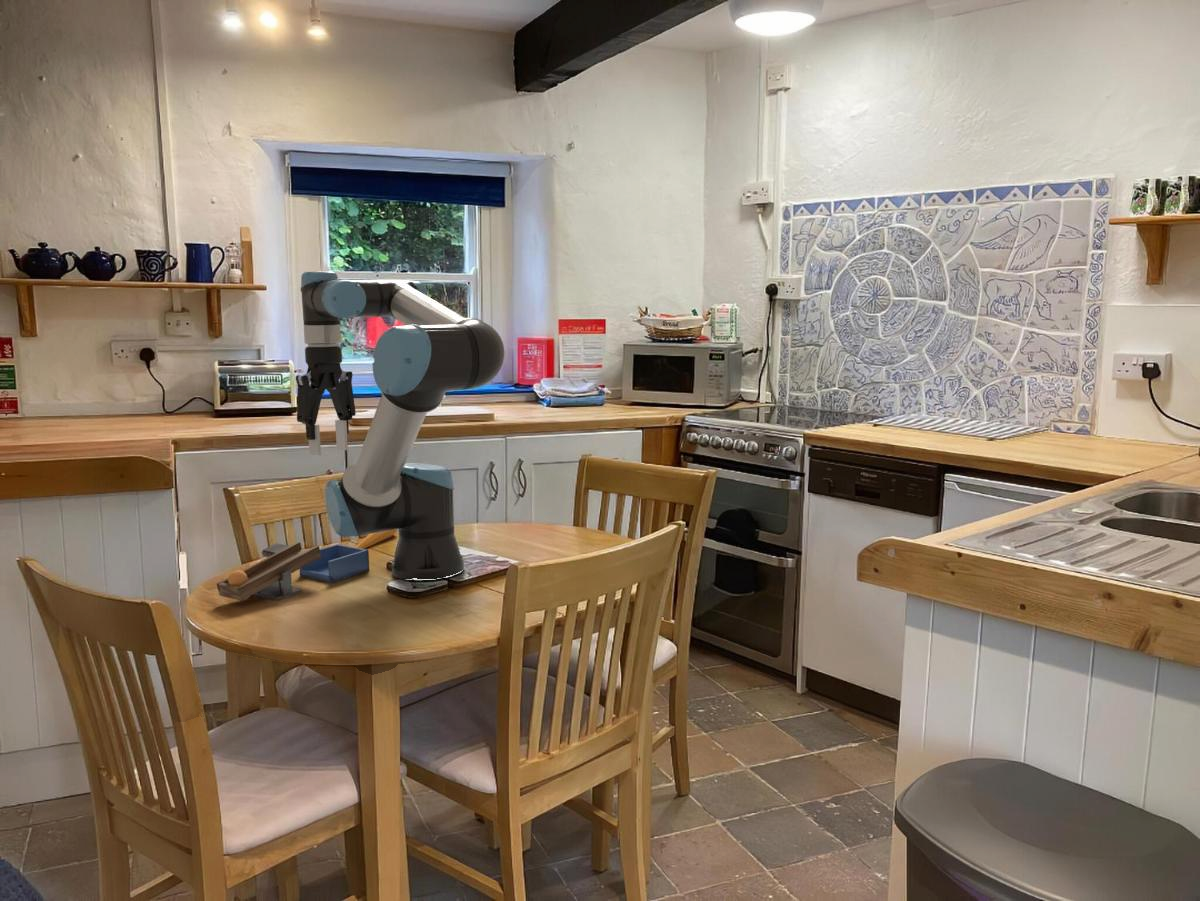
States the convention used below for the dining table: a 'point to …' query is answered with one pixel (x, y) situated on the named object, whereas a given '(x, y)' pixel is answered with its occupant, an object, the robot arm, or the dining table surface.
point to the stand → (279, 588)
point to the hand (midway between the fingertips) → (328, 451)
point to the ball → (237, 578)
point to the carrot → (375, 538)
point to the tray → (337, 563)
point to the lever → (270, 569)
